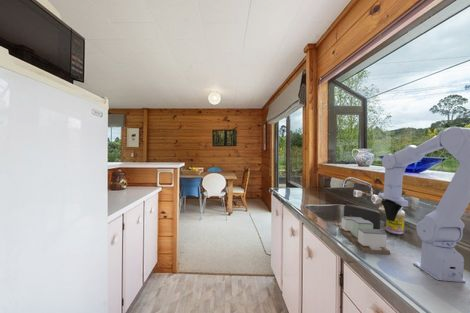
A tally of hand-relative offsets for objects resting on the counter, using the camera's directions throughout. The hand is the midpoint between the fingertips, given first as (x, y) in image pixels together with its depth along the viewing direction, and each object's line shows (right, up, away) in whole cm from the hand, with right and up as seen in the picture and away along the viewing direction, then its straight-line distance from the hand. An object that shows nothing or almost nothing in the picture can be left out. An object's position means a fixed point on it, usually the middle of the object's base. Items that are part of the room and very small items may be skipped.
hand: (390, 220), depth 87 cm
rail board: (-9, -9, +4) cm, 14 cm away
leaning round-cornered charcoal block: (0, -9, +20) cm, 22 cm away
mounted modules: (-9, -8, +4) cm, 13 cm away
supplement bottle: (+13, -10, +16) cm, 23 cm away
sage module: (-9, -8, +4) cm, 12 cm away
